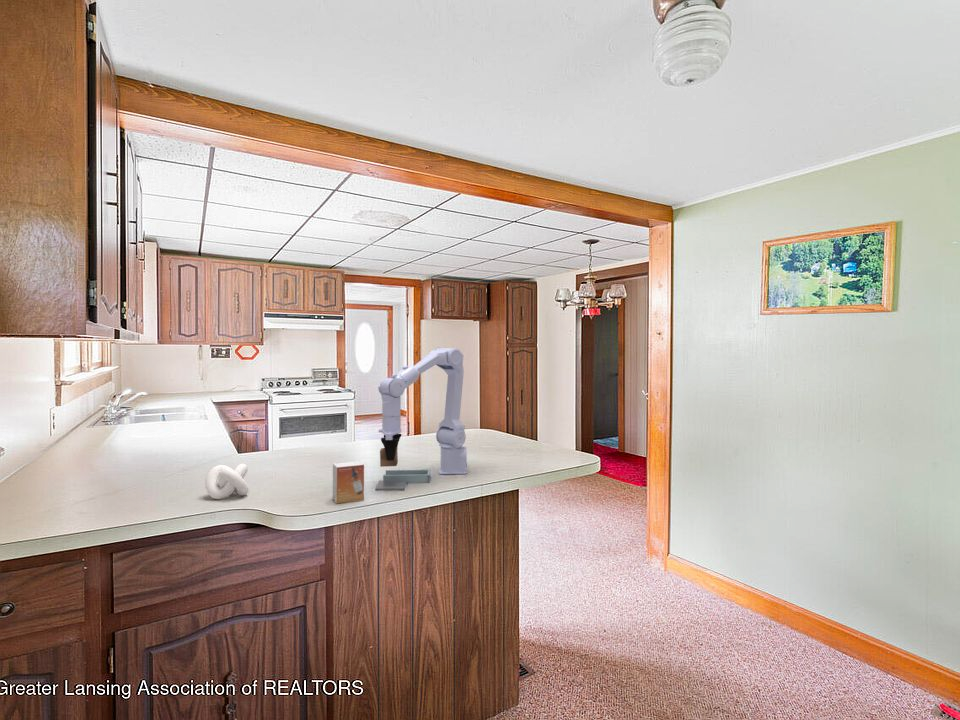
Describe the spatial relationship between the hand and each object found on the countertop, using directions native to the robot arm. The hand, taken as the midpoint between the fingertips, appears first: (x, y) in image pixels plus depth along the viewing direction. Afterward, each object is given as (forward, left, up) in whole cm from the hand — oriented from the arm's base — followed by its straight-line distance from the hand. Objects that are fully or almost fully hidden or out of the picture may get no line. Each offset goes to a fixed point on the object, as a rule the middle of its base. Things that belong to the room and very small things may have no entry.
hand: (391, 458), depth 157 cm
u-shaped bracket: (-4, -7, -9) cm, 12 cm away
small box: (+11, +13, -9) cm, 19 cm away
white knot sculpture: (+46, +8, -9) cm, 48 cm away
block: (+1, 0, -2) cm, 2 cm away
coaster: (0, 0, -9) cm, 9 cm away
